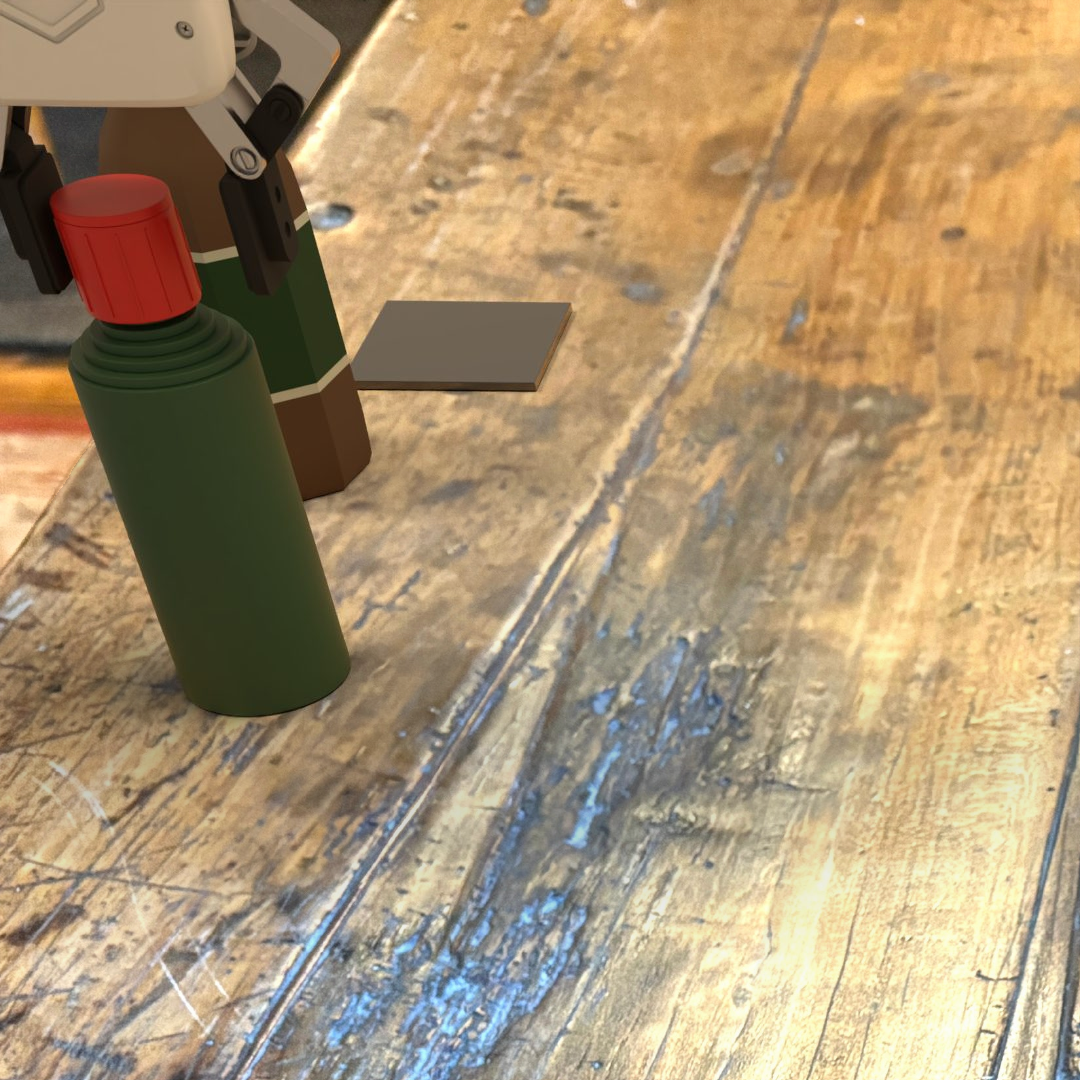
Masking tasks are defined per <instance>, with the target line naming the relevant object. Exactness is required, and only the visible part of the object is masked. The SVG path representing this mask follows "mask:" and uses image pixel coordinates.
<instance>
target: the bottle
mask: <svg viewBox="0 0 1080 1080" xmlns="http://www.w3.org/2000/svg"><path fill="white" fill-rule="evenodd" d="M69 354H70V355H69V358H68V360H67V369H68V372H69V376H70V378H71V381H72V384H73V387H74V390H75V392H76V395H77V398H78V401H79V403H80V406H81V408H82V411H83V415H84V417H85V420H86V423H87V426H88V428H89V432H90V435H91V437H92V439H93V443H94V445H95V449H96V450H97V453H98V456H99V459H100V462H101V464H102V467H103V470H104V473H105V476H106V478H107V481H108V484H109V487H110V489H111V492H112V495H113V499H114V501H115V504H116V507H117V509H118V512H119V515H120V517H121V521H122V523H123V526H124V529H125V531H126V535H127V536H128V540H129V542H130V543H129V544H130V545H131V548H132V551H133V554H134V556H135V559H136V562H137V565H138V567H139V570H140V573H141V577H142V578H143V582H144V584H145V587H146V591H147V593H148V596H149V598H150V601H151V604H152V607H153V610H154V613H155V616H156V618H157V622H158V623H159V626H160V629H161V632H162V634H163V638H164V640H165V642H166V647H167V648H168V652H169V654H170V657H171V659H172V662H173V664H174V667H175V671H176V673H177V676H178V679H179V682H180V685H181V687H182V690H183V692H184V694H185V696H186V698H188V699H189V700H190V701H191V702H192V703H193V704H195V705H196V706H198V707H199V708H202V709H203V710H206V711H208V712H212V711H213V712H212V713H215V712H216V713H215V714H220V713H221V715H226V716H233V717H256V716H257V717H258V716H267V715H273V714H280V713H284V712H289V711H292V710H296V709H299V708H302V707H305V706H309V704H313V703H314V702H317V701H319V700H321V699H323V698H325V697H326V696H328V695H329V694H331V693H333V691H335V690H337V688H338V687H340V686H341V684H343V682H344V681H345V680H346V679H347V677H348V675H349V673H350V670H351V666H352V665H351V664H352V661H351V656H350V653H349V651H348V646H347V643H346V640H345V637H344V633H343V630H342V627H341V624H340V620H339V617H338V614H337V613H338V612H337V609H336V606H335V604H334V599H333V597H332V593H331V590H330V586H329V584H328V581H327V577H326V573H325V570H324V567H323V564H322V561H321V557H320V553H319V551H318V547H317V544H316V541H315V537H314V534H313V531H312V527H311V524H310V521H309V517H308V514H307V511H306V508H305V505H304V504H305V503H304V500H302V497H301V494H300V491H299V488H298V484H297V481H296V478H295V474H294V471H293V468H292V464H291V461H290V458H289V454H288V451H287V448H286V445H285V441H284V438H283V435H282V431H281V428H280V425H279V421H278V418H277V415H276V412H275V408H274V405H273V402H272V398H271V395H270V392H269V388H268V385H267V382H266V379H265V375H264V372H263V369H262V365H261V362H260V359H259V355H258V352H257V349H256V345H255V342H254V340H253V338H252V336H251V335H250V334H249V333H248V332H247V331H246V330H244V329H243V327H242V326H241V325H240V324H239V323H238V322H237V321H236V320H234V319H233V318H231V317H229V316H226V315H223V314H221V313H220V312H218V311H216V310H214V309H211V308H208V307H207V306H205V305H203V304H201V303H198V304H197V305H196V306H195V307H193V308H192V309H191V310H189V311H187V312H185V313H184V314H181V315H178V316H176V317H173V318H169V319H166V320H163V321H157V322H151V323H144V324H116V323H110V322H105V321H101V320H99V319H97V318H94V319H93V320H92V321H91V323H90V324H89V325H88V326H87V327H86V328H85V329H84V330H83V331H82V333H81V335H80V336H79V337H78V338H77V339H76V340H75V341H74V342H73V344H72V346H71V348H70V353H69ZM228 714H229V715H228ZM237 715H239V716H237Z"/></svg>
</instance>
